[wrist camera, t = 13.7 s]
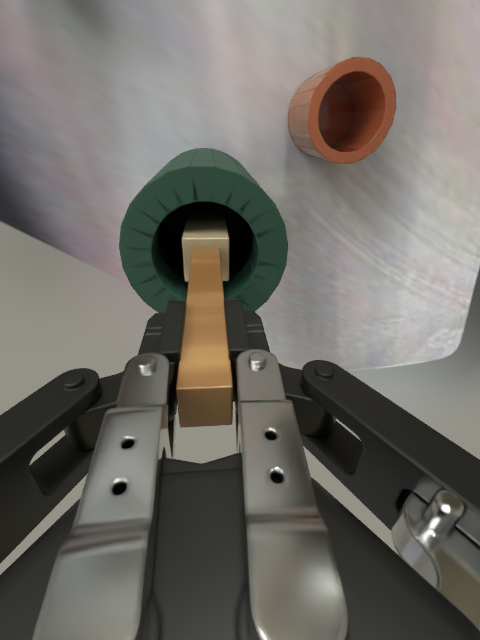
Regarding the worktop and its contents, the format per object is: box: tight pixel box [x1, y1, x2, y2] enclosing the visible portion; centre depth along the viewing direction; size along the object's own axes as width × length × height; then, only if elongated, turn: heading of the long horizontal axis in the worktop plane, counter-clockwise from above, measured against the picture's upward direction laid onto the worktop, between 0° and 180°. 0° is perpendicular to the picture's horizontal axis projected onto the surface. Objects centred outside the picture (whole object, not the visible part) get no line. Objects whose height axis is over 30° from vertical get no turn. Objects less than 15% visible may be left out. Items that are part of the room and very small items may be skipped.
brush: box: [176, 209, 233, 427], centre depth 18 cm, size 3×3×20 cm
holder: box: [288, 57, 396, 164], centre depth 27 cm, size 7×7×7 cm
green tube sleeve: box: [119, 148, 288, 313], centre depth 26 cm, size 10×10×15 cm
